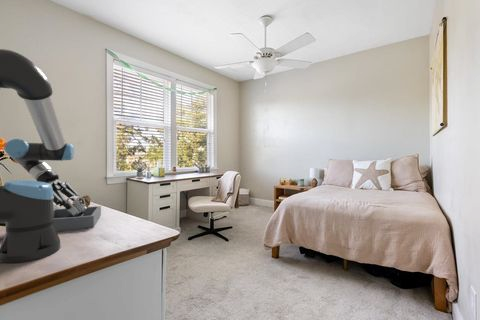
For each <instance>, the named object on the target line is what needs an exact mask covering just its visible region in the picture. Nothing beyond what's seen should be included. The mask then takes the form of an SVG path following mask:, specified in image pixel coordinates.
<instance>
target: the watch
mask: <svg viewBox="0 0 480 320" xmlns="http://www.w3.org/2000/svg"><path fill="white" fill-rule="evenodd" d="M82 197H83V196H82ZM82 197H81V196H80V197H79V196H72V197H70V198H73V199H74V201H75V203H76V205H77V206H78V207H80V208H81V211H83V210H84V208H85V205H86V202H85V200H84V199H83V198H82ZM70 198H68V197H67V198H66V202H67V201H70V200H71V199H70ZM66 210H67V209H66ZM67 211H68V210H67ZM81 211H78V212H77V213H76V214H75V215H74V216H73V215H72V214H71V213H70V212H69V211H68V212H69V213H70V214H69V215H68V216H67V217H80V216H85V215H84V212H81Z"/></svg>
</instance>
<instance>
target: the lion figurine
mask: <svg viewBox="0 0 480 320" xmlns="http://www.w3.org/2000/svg"><path fill="white" fill-rule="evenodd" d="M82 198H83V199H84V200H85V202H86V205H85V207H90V205H91V197H90V196H89V195H87V194H86V195H83V196H82ZM71 204H72V205H73V206H74V207H75V208H77V207H76V206H75V205H74V204H73V203H71Z"/></svg>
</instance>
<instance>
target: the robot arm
mask: <svg viewBox="0 0 480 320" xmlns="http://www.w3.org/2000/svg"><path fill="white" fill-rule="evenodd" d="M0 89H12V90H14V91H16V93H17V95H18V97H19V98H21V99H23V101H24V103H25V104H26V108H27V110H28V112H29V114H30V116H31V120H32V121H33V124H34V126H35V129H36V132H37V134H38V135H39V138H40V140H41V142H27V141H26V140H23V139H20V138H12V139H10V140H8V141H7V142H5V144H4V152H5V153H6V154H7V155H8V157H9V158H12V160H14V161H15V162H16V163H18V165H20V166H21V167H22V168H23V169H24V170H25V171H26V172H28V174H29V175H31V177H32V178H33V179H34V180H8V181H5V182H4V185H0V224H1V225H2V224H5V235H4V238H3V240H2V243H1V244H0V261H2V262H1V263H3V262H7V263H6V264H16V263H25V262H30V261H34V260H39V259H43V258H45V257H47V256H49V255H52V254H55V253H57V252H58V251H59V250H60V249H61V239H60V237H59V234H58V231H56V230H55V228H54V211H53V202H54V203H55V204H56V205H59V204H60V205H59V206H61V207H62V206H63V208H66V209H67V210H68V211H69V212H70V213H71V214H72V215H73V216H74V215H75V214H76V213H77V212H78V210H77V209H76V208H75V207H74V206H73V205H72V204H74V205H75V206H76V207H77V208H78V209H79V210H80V211H81V208H80V207H78V206H77V205H76V203H75V201H74V199H73V198H70V197H72V196H79V197H81V195H80V194H79V193H78V192H77V191H76V190H75V189H74V187H73V186H71V185H70V183H69V181H65V182H64V181H61V180H60V179H59V178H60V177H59V175H58V173H56V172H55V171H54V169H53V168H52V167H51V166H50V165H49V164H48V163H47V162H45V161H56V162H57V161H61V162H62V161H71V160H73V159H74V156H75V147H74V145H73V144H72V143H68V142H67V143H66V140H65V138H64V134H63V131H62V128H61V125H60V122H59V119H58V118H59V117H58V115H57V112H56V108H55V105H54V103H53V99H52V96H53V88H52V85H51V83H50V81H49V78H48V77H47V76H46V75H45V73H44V72H43V71H42V69H40V68H39V66H37V64H35V63H34V62H33V61H31V60H30V59H29V58H28V57H26V56H24V55H23V54H20V53H19V52H16V51H13V50H10V49H5V48H2V49H1V48H0ZM66 197H67V198H66ZM68 198H70V199H69V200H68V201H67V202H66V200H67V199H68ZM71 201H72V203H71ZM86 209H87V208H86V207H85V208H84V210H83V211H81V212H84V211H85V210H86Z"/></svg>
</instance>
